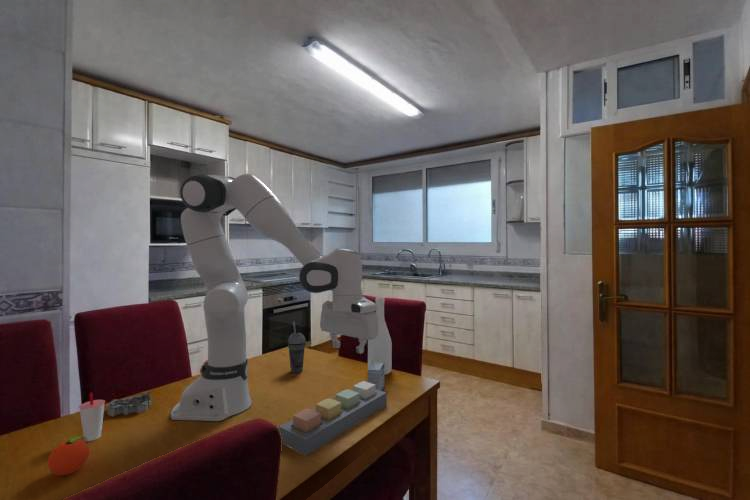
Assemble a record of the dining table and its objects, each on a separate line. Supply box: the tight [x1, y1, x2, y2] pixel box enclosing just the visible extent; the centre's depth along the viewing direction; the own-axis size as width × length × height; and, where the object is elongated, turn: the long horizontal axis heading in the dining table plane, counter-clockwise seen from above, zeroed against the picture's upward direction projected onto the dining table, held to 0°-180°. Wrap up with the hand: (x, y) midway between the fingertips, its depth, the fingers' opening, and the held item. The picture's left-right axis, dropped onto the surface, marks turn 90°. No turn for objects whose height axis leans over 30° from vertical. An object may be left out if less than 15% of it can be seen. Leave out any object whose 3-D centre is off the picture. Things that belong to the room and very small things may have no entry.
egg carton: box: [106, 391, 152, 417], centre depth 108 cm, size 11×8×4 cm
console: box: [278, 389, 388, 457], centre depth 101 cm, size 34×10×4 cm, turn 143°
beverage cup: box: [287, 321, 307, 374], centre depth 141 cm, size 7×7×20 cm
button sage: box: [335, 388, 359, 409], centre depth 104 cm, size 5×5×4 cm
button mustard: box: [315, 397, 341, 420], centre depth 98 cm, size 5×5×4 cm
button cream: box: [352, 380, 376, 399], centre depth 111 cm, size 5×5×4 cm
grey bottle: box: [367, 296, 393, 376], centre depth 141 cm, size 10×10×30 cm
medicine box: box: [367, 363, 385, 392], centre depth 123 cm, size 8×4×9 cm, turn 168°
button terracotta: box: [292, 407, 321, 433], centre depth 91 cm, size 5×5×4 cm
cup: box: [78, 392, 106, 442], centre depth 92 cm, size 5×5×12 cm
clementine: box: [47, 436, 90, 476], centre depth 79 cm, size 8×7×7 cm
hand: (348, 350), depth 104 cm, fingers open, 8 cm apart
